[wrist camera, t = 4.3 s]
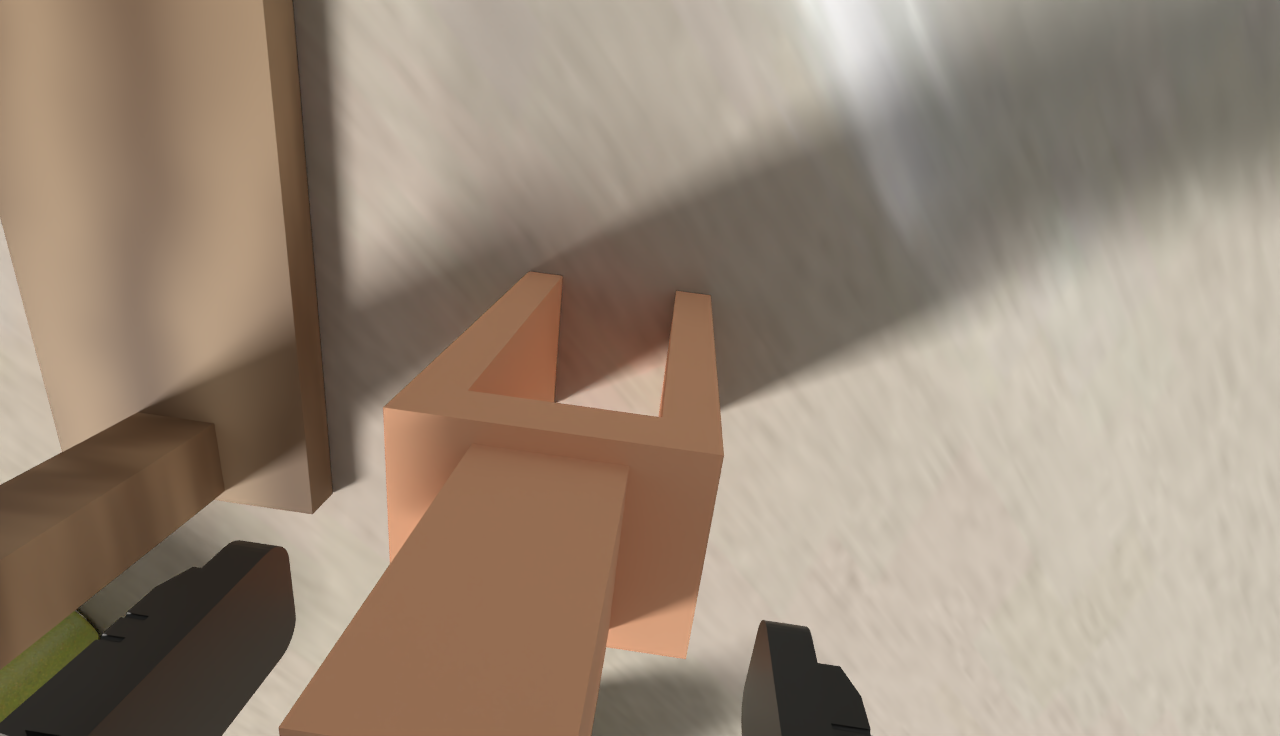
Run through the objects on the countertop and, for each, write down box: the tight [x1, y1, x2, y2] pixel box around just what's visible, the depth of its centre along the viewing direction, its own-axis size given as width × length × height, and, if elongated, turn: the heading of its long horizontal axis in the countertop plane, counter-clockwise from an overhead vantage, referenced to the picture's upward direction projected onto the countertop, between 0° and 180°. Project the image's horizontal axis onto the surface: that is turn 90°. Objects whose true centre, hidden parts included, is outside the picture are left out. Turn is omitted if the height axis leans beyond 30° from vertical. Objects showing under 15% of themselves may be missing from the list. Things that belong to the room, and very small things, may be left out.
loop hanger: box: [279, 271, 724, 736], centre depth 15 cm, size 6×5×17 cm
